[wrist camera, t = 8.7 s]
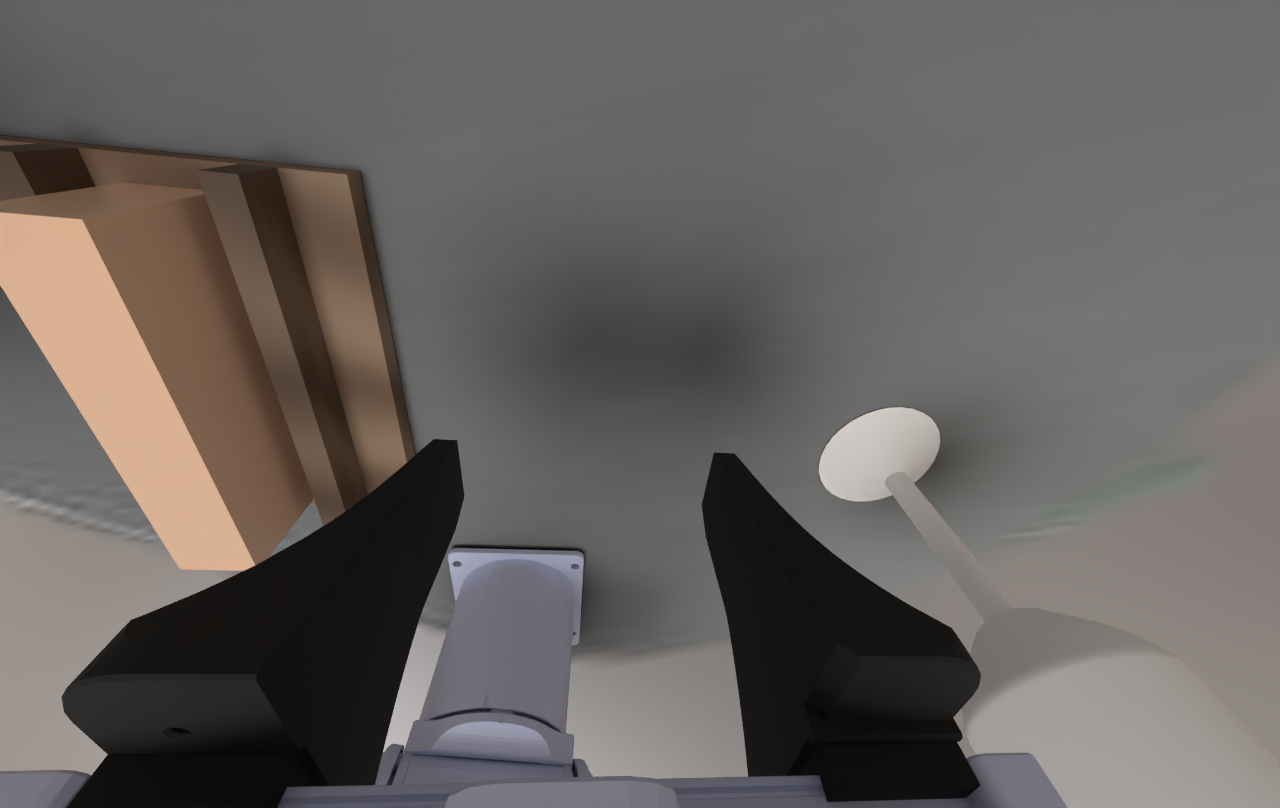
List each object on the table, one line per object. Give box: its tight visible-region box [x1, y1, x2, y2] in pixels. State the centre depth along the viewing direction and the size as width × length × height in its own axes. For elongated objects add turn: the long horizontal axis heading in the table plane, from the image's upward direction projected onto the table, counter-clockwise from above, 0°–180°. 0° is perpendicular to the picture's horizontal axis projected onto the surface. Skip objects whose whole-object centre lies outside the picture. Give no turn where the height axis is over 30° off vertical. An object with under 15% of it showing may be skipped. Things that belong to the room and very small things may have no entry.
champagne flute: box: [819, 407, 1280, 808], centre depth 16 cm, size 7×7×24 cm
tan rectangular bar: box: [0, 183, 314, 571], centre depth 18 cm, size 14×3×5 cm, turn 174°
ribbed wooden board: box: [0, 135, 415, 525], centre depth 20 cm, size 16×12×3 cm
